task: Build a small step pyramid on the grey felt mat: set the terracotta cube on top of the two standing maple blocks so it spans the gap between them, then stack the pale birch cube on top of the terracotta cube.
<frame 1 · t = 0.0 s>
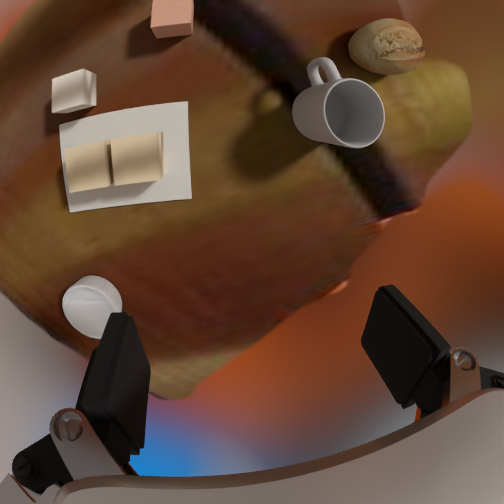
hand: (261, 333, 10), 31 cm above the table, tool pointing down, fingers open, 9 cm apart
birch cube: (81, 93, 28), on the table
maple block 2: (143, 155, 34), resting on felt mat
ramekin: (99, 295, 43), on the table
maple block 1: (98, 161, 33), resting on felt mat
mug: (314, 103, 35), on the table
terracotta cube: (175, 22, 26), on the table
bread roll: (378, 49, 31), on the table
felt mat: (120, 158, 33), on the table
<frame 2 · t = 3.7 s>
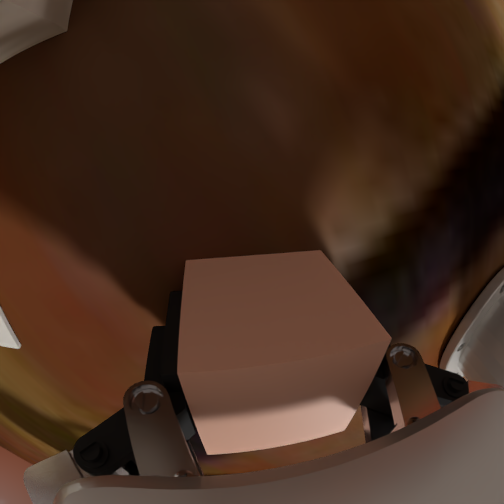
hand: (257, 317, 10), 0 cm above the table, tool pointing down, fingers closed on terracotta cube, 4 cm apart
birch cube: (27, 5, 3), on the table
terracotta cube: (255, 309, 11), on the table, touching gripper
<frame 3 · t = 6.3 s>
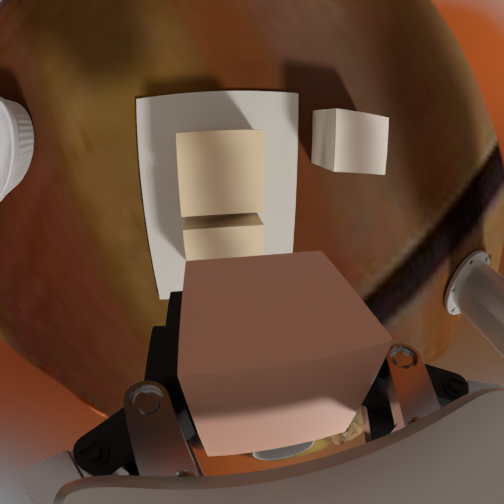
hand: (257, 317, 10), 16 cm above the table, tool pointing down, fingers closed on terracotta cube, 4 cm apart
birch cube: (336, 138, 23), on the table
maple block 2: (221, 238, 26), resting on felt mat
ramekin: (8, 145, 18), on the table
maple block 1: (218, 163, 22), resting on felt mat
mug: (278, 383, 38), on the table
terracotta cube: (255, 310, 11), point 15 cm above the table, touching gripper
bread roll: (335, 405, 45), on the table
felt mat: (220, 201, 24), on the table
when the fingers open (7 cm above the table, at t = 8.8 s): terracotta cube drops 1 cm, resting on maple block 2, maple block 1.
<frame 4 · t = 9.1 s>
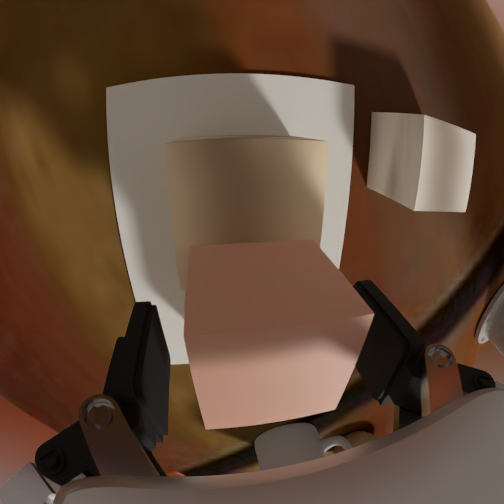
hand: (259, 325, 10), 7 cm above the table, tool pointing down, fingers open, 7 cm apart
birch cube: (397, 153, 16), on the table
maple block 1: (236, 188, 15), resting on felt mat, touching terracotta cube
mug: (296, 430, 30), on the table
terracotta cube: (252, 294, 12), point 5 cm above the table, touching maple block 2, maple block 1
bread roll: (353, 440, 38), on the table
felt mat: (236, 244, 17), on the table
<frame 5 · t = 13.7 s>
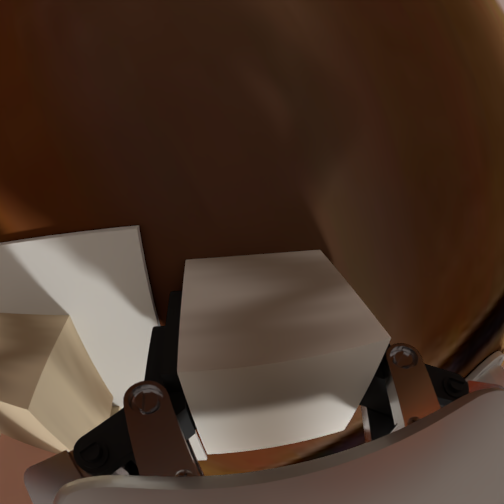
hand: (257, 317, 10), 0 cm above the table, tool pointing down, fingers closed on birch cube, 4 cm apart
birch cube: (255, 309, 11), on the table, touching gripper
maple block 1: (47, 358, 10), resting on felt mat, touching terracotta cube
terracotta cube: (60, 466, 7), point 5 cm above the table, touching maple block 2, maple block 1
felt mat: (75, 393, 12), on the table
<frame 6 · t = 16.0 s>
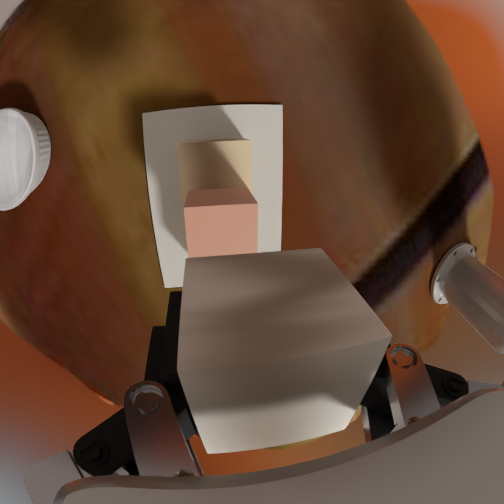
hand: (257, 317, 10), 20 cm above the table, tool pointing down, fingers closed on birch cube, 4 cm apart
birch cube: (255, 308, 11), point 19 cm above the table, touching gripper
ramekin: (25, 152, 21), on the table
maple block 1: (214, 168, 26), resting on felt mat, touching terracotta cube
terracotta cube: (219, 216, 23), point 5 cm above the table, touching maple block 2, maple block 1
felt mat: (216, 200, 28), on the table
when the fingers open (12 cm above the table, at t = 18.3 s): birch cube drops 1 cm, resting on terracotta cube.
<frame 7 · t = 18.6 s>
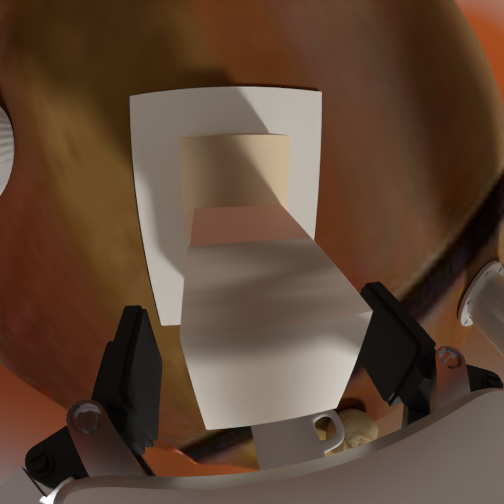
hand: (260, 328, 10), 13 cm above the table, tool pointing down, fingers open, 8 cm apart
birch cube: (251, 293, 12), point 10 cm above the table, touching terracotta cube
maple block 1: (228, 173, 19), resting on felt mat, touching terracotta cube
mug: (288, 403, 35), on the table
terracotta cube: (238, 246, 16), point 5 cm above the table, touching birch cube, maple block 2, maple block 1
bread roll: (345, 419, 42), on the table
felt mat: (229, 217, 21), on the table
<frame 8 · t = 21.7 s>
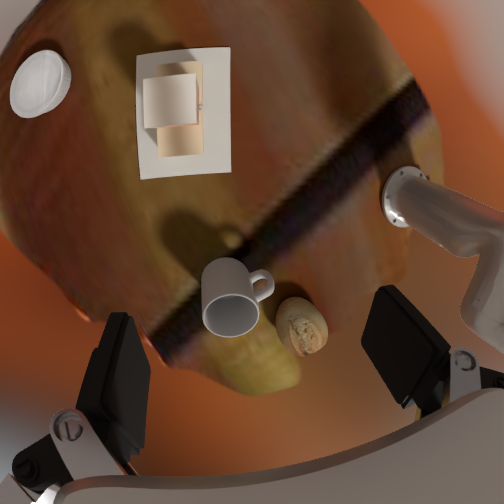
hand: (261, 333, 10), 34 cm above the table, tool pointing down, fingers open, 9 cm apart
birch cube: (175, 104, 26), point 10 cm above the table, touching terracotta cube
maple block 2: (182, 132, 36), resting on felt mat, touching terracotta cube
ramekin: (50, 85, 28), on the table
maple block 1: (182, 88, 33), resting on felt mat, touching terracotta cube
mug: (233, 273, 48), on the table
bread roll: (297, 318, 56), on the table
felt mat: (182, 110, 35), on the table
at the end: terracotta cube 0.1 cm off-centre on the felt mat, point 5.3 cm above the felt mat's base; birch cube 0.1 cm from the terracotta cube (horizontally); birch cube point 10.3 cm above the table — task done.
